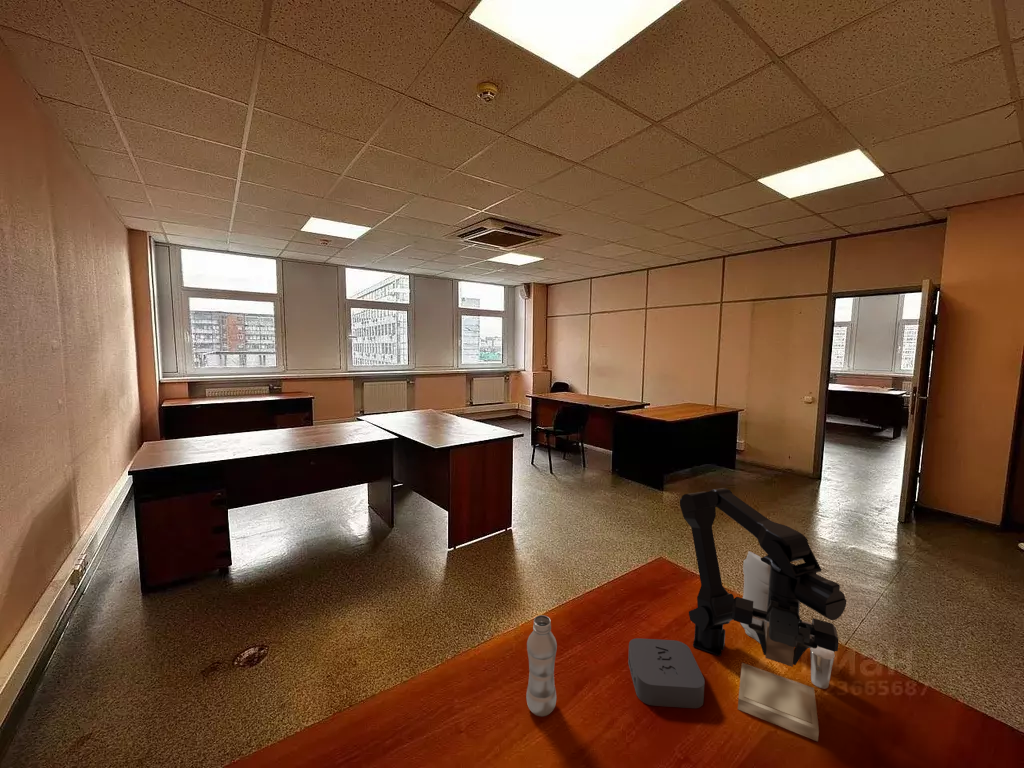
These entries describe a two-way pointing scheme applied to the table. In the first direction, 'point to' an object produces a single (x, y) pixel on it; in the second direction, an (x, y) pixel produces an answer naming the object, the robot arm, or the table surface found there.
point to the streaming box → (665, 673)
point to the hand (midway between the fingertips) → (779, 658)
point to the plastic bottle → (541, 667)
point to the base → (778, 701)
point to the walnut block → (778, 651)
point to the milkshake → (821, 666)
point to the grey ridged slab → (755, 586)
